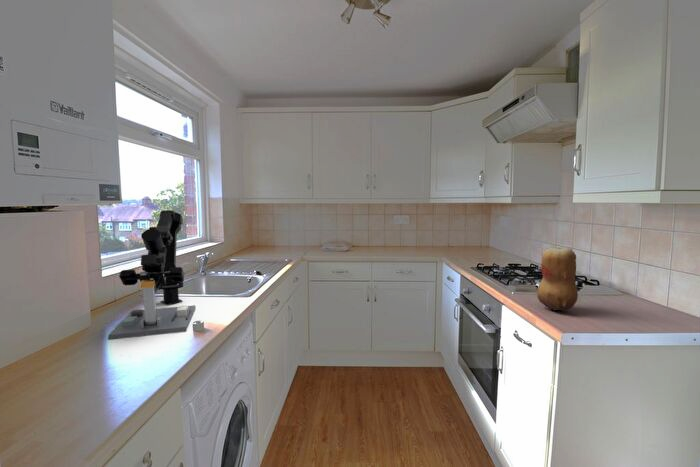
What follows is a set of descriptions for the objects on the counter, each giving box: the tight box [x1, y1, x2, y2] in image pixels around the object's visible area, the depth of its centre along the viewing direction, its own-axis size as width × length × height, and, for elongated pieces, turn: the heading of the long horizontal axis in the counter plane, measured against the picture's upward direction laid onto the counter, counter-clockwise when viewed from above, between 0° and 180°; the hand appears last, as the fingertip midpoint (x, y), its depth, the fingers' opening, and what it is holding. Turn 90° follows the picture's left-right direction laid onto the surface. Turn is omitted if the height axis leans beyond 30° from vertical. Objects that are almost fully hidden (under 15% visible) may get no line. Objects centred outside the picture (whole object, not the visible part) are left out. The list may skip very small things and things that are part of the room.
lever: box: [140, 279, 157, 326], centre depth 111 cm, size 2×4×16 cm, turn 108°
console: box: [107, 305, 196, 340], centre depth 120 cm, size 24×22×4 cm
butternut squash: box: [536, 246, 579, 312], centre depth 131 cm, size 14×13×25 cm
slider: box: [177, 308, 187, 317], centre depth 122 cm, size 2×3×2 cm, turn 107°
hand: (149, 297), depth 111 cm, fingers closed, pressing on lever
